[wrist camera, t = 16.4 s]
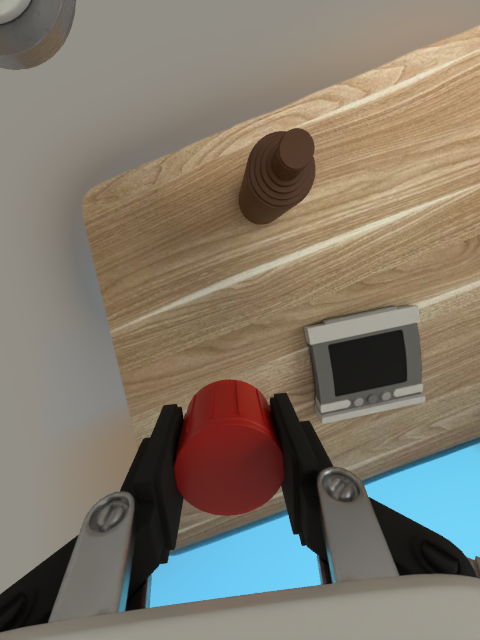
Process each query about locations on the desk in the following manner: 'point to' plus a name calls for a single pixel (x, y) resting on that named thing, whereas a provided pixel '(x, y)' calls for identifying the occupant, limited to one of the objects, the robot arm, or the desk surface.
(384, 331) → the alarm clock
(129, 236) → the desk surface
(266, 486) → the cap
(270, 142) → the bottle
